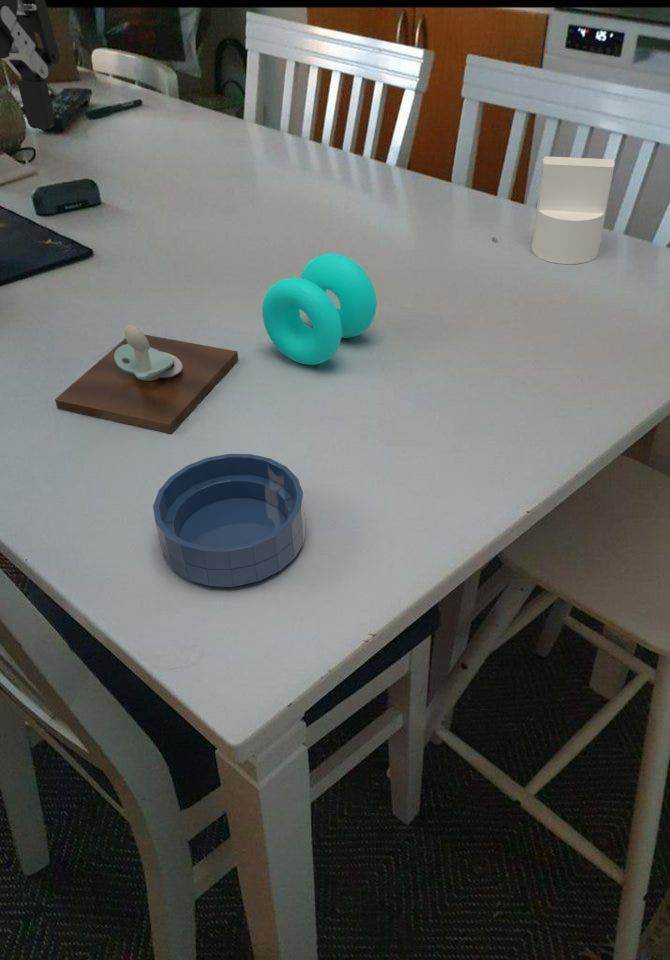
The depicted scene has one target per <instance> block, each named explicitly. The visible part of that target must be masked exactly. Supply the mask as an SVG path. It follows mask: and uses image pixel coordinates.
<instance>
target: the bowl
mask: <svg viewBox="0 0 670 960" xmlns="http://www.w3.org/2000/svg"><path fill="white" fill-rule="evenodd" d="M154 499H155V500H154V502H153V505H152V508H153V516H154V523H155V528H156V531H157V535H158V539H159V543H160V548H161V551H162V555H163V558H164V560H165V561H166V562H167V564H168V565H169V566H170V568H171V570H173V571H174V572H176V573H177V574H179V575H180V576H181V577H183V578H184V579H186V580H188V581H190V582H194V583H198V584H201V585H204V586H208V587H219V588H220V587H222V588H223V587H225V588H229V587H230V588H231V587H232V588H233V587H238V586H243V585H249V584H253V583H257V582H260V581H262V580H264V579H266V578H269V577H270V576H273V575H275V574H277V573H278V572H280V571H282V570H283V569H284V568H285V567H286V566H287V565H289V564H290V563H291V562H292V561H293V560H294V559H295V558H296V557H297V556H298V553H299V552H300V550H301V548H302V547H303V545H304V543H305V536H306V528H307V527H306V514H305V503H304V502H305V501H304V492H303V489H302V486H301V483H300V480H299V478H298V477H297V476H296V475H295V473H293V472H292V471H291V470H290V469H289V467H288V466H286V465H284V464H282V463H280V462H278V461H276V460H274V459H273V458H269V457H266V456H263V455H256V454H253V453H251V454H250V453H225V454H220V455H214V456H208V457H205V458H203V459H201V460H198V461H195V462H193V463H190V464H187V465H186V466H184V467H183V468H181V469H180V470H178V471H177V472H175V473H174V474H172V475H171V476H170V477H168V479H167V480H166V481H165V482H164V484H163V485H162V486H161V487H160V488H159V489H158V491H157V494H156V496H155V498H154Z"/></svg>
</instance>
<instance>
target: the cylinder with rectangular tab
mask: <svg viewBox="0 0 670 960" xmlns="http://www.w3.org/2000/svg"><path fill="white" fill-rule="evenodd" d="M615 163H616V162H615V160H614V159H612V158H594V157H593V158H591V157H589V158H588V157H568V156H567V157H566V156H544V157H543V159H542V163H541V171H540V180H539V187H538V194H537V201H536V202H537V203H536V211H535V218H534V227H533V234H532V243H531V252H532V253H533V254H534V256H535V257H537V258H539V259H541V260H543V261H546V262H549V263H554V264H559V265H580V264H586V263H588V262H592V261H594V260H595V259H596V258H597V257H598V256H599V252H600V247H601V241H602V236H603V231H604V224H605V220H606V215H607V210H608V209H607V208H608V205H609V204H608V203H609V198H610V192H611V187H612V182H613V175H614V171H615V165H616V164H615Z"/></svg>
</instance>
